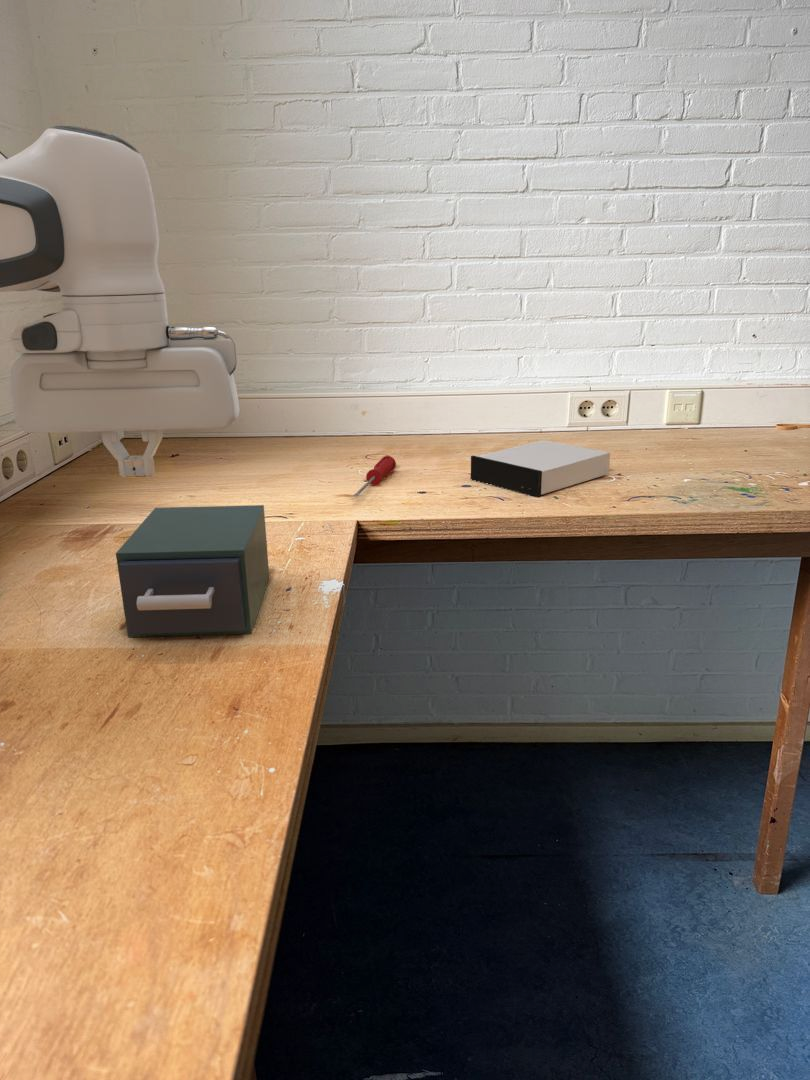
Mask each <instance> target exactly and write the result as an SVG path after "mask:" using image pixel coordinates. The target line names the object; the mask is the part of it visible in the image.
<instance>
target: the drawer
mask: <svg viewBox="0 0 810 1080" xmlns="http://www.w3.org/2000/svg"><path fill="white" fill-rule="evenodd" d="M119 568H120V575H121V582H122V589H123V596H124V603H125V610H126V617H127V624H128V631H129V634H158V633H192V632H226V631H244V630H245V627H246V625H245V613H244V602H243V591H242V580H241V568H240V558H237V557H225V558H213V559H180V560H175V559H149V560H133V561H122V562H121V563H120V564H119Z"/></svg>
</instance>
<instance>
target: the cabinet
mask: <svg viewBox="0 0 810 1080" xmlns="http://www.w3.org/2000/svg"><path fill="white" fill-rule="evenodd" d="M225 557H237V558H240V568H241V580H242V591H243V602H244V613H245V625H246V627H245V630H244V631H226V632H192V633H158V634H129V631H128V624H127V617H126V610H125V603H124V596H123V589H122V582H121V575H120V568H119V564H120V563H121V562H122V561H133V560H149V559H187V558H225ZM115 559H116V564H117V565H116V566H117V571H118V578H119V586H120V592H121V598H122V600H121V601H122V606H123V612H124V614H123V615H124V621H125V627H126V633H127V637H128V638H145V637H177V636H178V637H181V636H212V635H214V636H215V635H243V634H244V635H245V634H249V635H250V634H252V632H253V629H254V626H255V624H256V620H257V618H258V613H259V611H260V608H261V605H262V602H263V598H264V595H265V593H266V589H267V585H268V583H269V580H270V569H269V555H268V542H267V530H266V514H265V505H264V504H253V505H252V504H251V505H216V506H214V505H213V506H212V505H211V506H210V505H209V506H177V507H174V506H173V507H172V506H171V507H154V509H153V510H151V512H150V513H149V514H148V515H147V516H146V518H145V519H144V520H143V521H142V522H141V523H140V525H139V526H138V527H137V528H136V529H135V530H134V531H133V532H132V534H130V536H129V538H127V540H126V541H125V542H124V543H123V544H122V545H121V547H120V548H119V549H118V550H117V551H116V552H115Z"/></svg>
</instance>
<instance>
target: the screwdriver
mask: <svg viewBox="0 0 810 1080" xmlns="http://www.w3.org/2000/svg"><path fill="white" fill-rule="evenodd" d="M396 467H397V462H396V459H395V458H394V457H393V456H390V455H385V456H383V457H382V458H381V459H380V460H379V461H378V462H377V463H376V464H375V465H374V466H373V469H370V470H369V471H368V472H366V475H365V478H366V481H367V482H366V483H365V484H364V485H363V486H362V487H361V488H360V489H359V490H357V492H355V493H354V494H353V497H358V496H360V495H361V493H362V492H363V491H364V490H365V489H366V488H367V487H368V486H378V485H380V484H381V483H382V481H383V479H385V478H387V477H388V476H389V475H390V474H391V473H392V472H393V471H395V469H396Z"/></svg>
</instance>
